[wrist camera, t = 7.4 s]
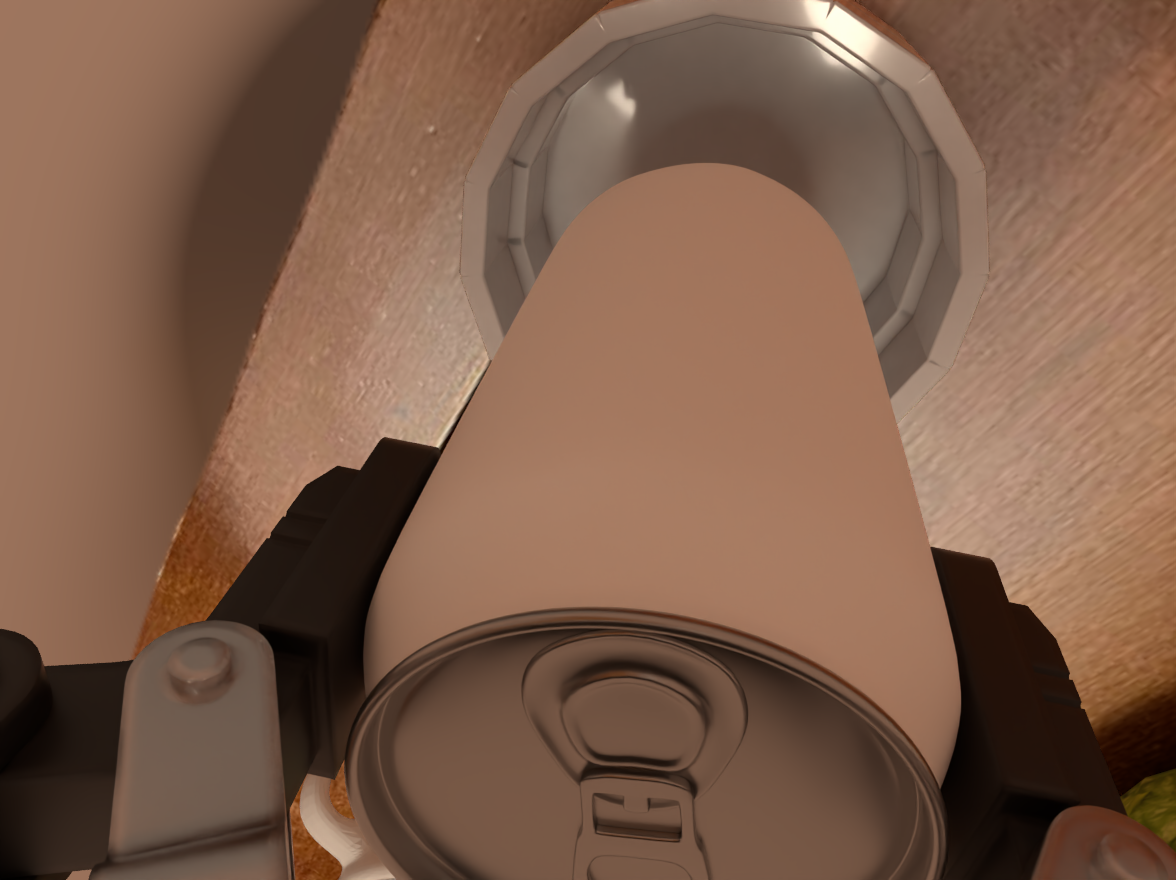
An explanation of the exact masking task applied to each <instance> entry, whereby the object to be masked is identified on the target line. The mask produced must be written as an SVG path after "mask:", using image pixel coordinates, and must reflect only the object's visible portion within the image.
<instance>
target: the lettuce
mask: <svg viewBox="0 0 1176 880" xmlns="http://www.w3.org/2000/svg"><path fill="white" fill-rule="evenodd" d="M1120 798H1121V800H1122V803H1123V805H1124V808H1125V810H1126V813H1127V815H1128V817H1129V818H1131V819H1133V820H1135V821H1137V822H1139V823H1140V824H1142V825H1143V826H1145V827H1147V828H1148V829H1150V830H1151V831H1152V832H1154V833H1155V834H1156V835H1157V836H1159V837H1160V838H1161V839H1163V840H1164V841H1165V842H1166V843H1167V844H1168V845H1169V846H1170V847H1171V848H1172V849H1173V850H1174V851H1175V852H1176V768H1175V769H1172V770H1169V771H1166V772H1162V773H1159V774H1156V775H1153V776H1149V777H1146V778H1144V779H1143V780H1142V781H1140V782H1139V783H1138V784H1137V785H1135V786H1134V787H1133V788H1131V789H1130V790H1129V791H1127V792H1126V793H1125V794H1124V795H1122V796H1121V797H1120Z"/></svg>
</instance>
